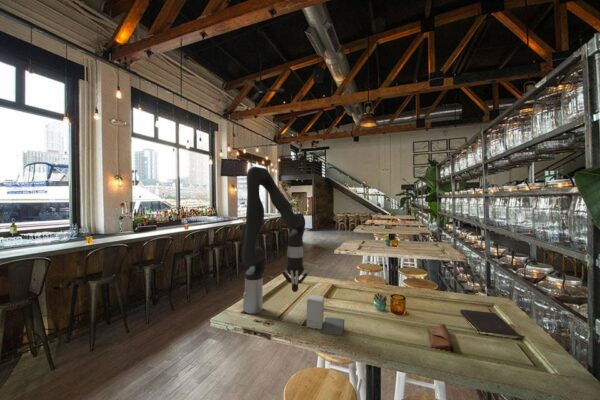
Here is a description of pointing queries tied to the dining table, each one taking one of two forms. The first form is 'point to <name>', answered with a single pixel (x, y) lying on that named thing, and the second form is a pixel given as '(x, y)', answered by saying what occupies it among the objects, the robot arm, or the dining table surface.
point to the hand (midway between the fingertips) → (295, 291)
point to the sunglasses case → (440, 338)
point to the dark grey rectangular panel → (333, 326)
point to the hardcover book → (488, 323)
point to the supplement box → (315, 311)
